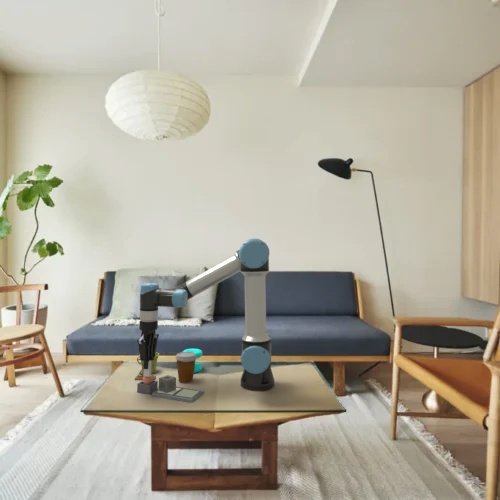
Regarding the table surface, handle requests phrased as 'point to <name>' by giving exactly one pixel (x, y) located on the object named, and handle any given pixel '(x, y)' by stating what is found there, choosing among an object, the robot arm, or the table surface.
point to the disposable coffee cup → (186, 366)
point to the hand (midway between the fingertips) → (147, 376)
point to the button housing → (147, 387)
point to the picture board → (180, 394)
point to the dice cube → (167, 384)
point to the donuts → (198, 353)
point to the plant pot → (152, 363)
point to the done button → (147, 380)
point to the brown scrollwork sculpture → (143, 374)
